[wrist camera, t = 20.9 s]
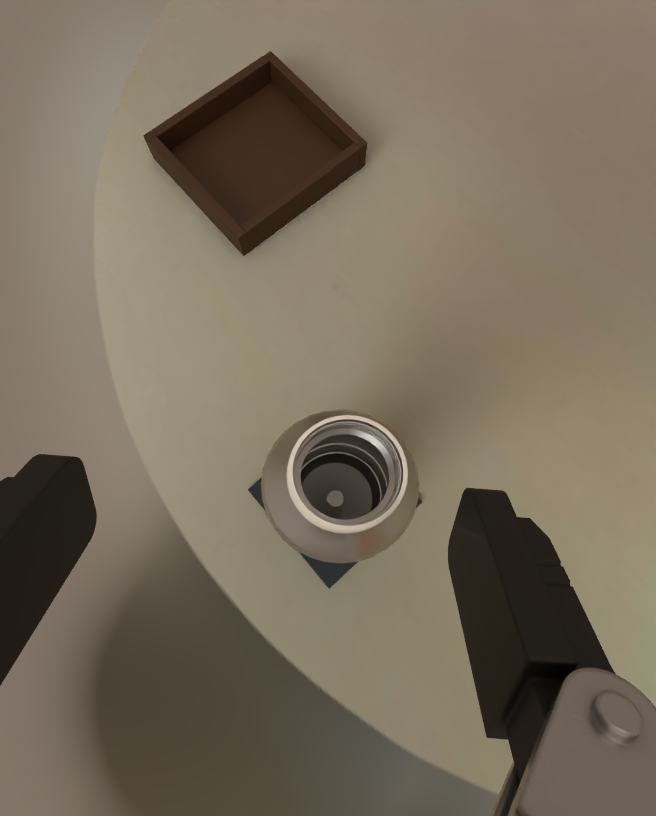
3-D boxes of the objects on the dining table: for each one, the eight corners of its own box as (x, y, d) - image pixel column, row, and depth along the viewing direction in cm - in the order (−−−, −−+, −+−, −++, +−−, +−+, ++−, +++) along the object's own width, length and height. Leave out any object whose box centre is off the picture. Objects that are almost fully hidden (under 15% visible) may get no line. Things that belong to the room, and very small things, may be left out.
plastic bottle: (382, 544, 33) (467, 582, 13) (287, 545, 33) (233, 584, 13) (379, 454, 34) (452, 370, 15) (288, 454, 34) (241, 370, 15)
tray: (243, 256, 38) (238, 238, 36) (153, 158, 40) (142, 135, 38) (365, 165, 41) (367, 142, 38) (273, 77, 43) (270, 50, 40)
